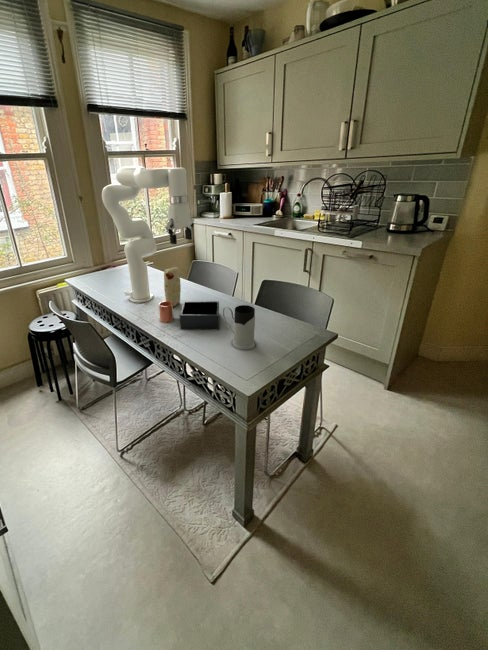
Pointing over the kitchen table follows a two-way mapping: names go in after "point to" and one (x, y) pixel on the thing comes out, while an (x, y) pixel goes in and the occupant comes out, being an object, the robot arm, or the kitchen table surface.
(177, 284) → the food model
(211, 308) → the black storage bin
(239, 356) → the kitchen table surface
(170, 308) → the cup
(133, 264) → the robot arm
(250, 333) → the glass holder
